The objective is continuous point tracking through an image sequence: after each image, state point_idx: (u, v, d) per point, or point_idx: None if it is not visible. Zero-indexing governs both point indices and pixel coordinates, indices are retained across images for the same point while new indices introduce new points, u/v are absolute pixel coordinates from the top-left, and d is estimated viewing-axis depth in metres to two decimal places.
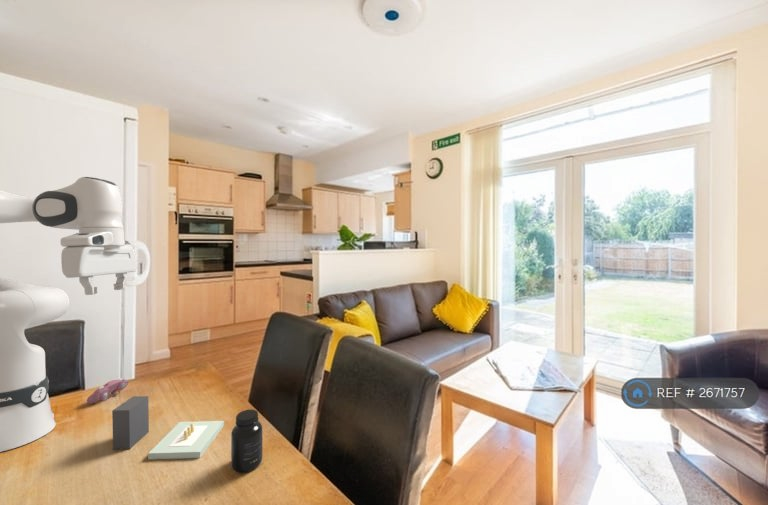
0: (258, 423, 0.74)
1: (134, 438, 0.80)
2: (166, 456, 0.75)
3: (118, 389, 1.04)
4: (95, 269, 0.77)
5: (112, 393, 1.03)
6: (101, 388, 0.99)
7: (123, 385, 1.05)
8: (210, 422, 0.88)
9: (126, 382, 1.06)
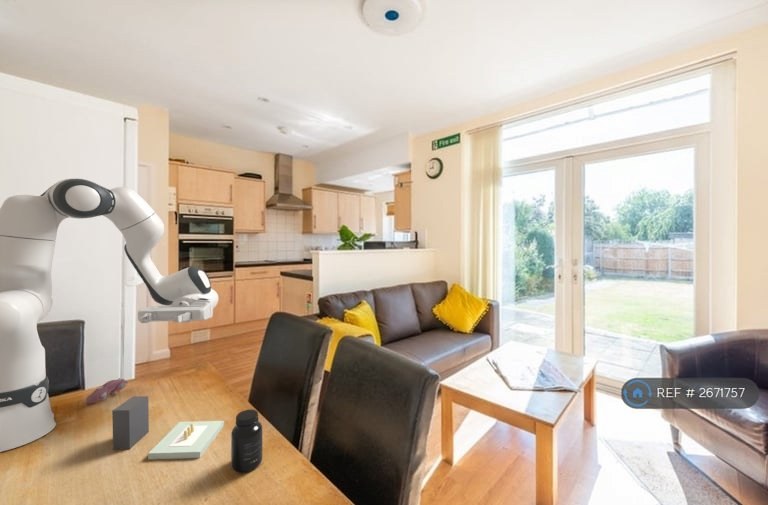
0: (258, 423, 0.74)
1: (134, 438, 0.80)
2: (166, 456, 0.75)
3: (117, 389, 1.04)
4: None
5: (111, 393, 1.03)
6: (100, 388, 0.99)
7: (122, 385, 1.05)
8: (210, 422, 0.88)
9: (125, 382, 1.06)
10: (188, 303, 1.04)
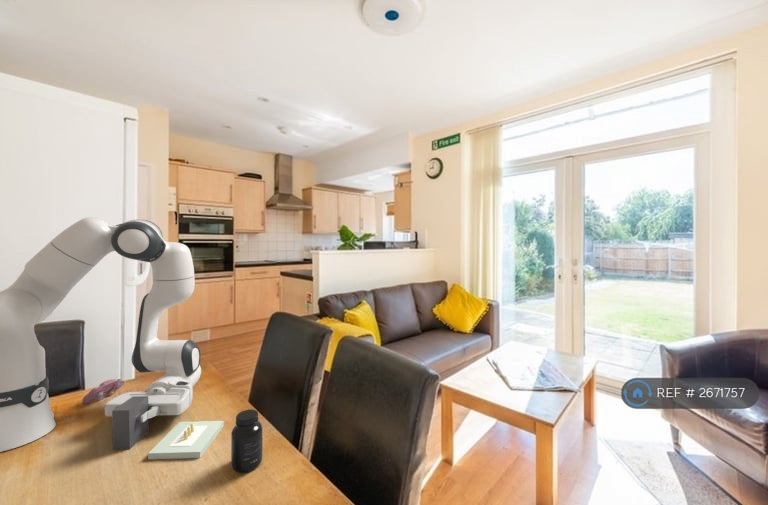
0: (258, 423, 0.74)
1: (134, 438, 0.80)
2: (166, 456, 0.75)
3: (114, 389, 1.04)
4: None
5: (108, 393, 1.04)
6: (97, 388, 1.00)
7: (119, 385, 1.05)
8: (210, 422, 0.88)
9: (122, 382, 1.06)
10: (164, 389, 0.92)
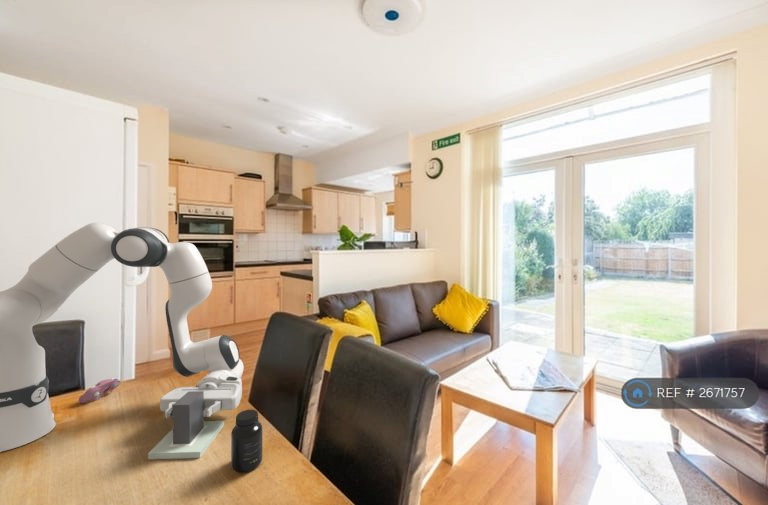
0: (258, 423, 0.74)
1: (193, 433, 0.80)
2: (166, 456, 0.75)
3: (110, 388, 1.05)
4: None
5: (104, 392, 1.04)
6: (93, 387, 1.00)
7: (115, 384, 1.06)
8: (210, 422, 0.88)
9: (118, 381, 1.06)
10: (215, 385, 0.92)
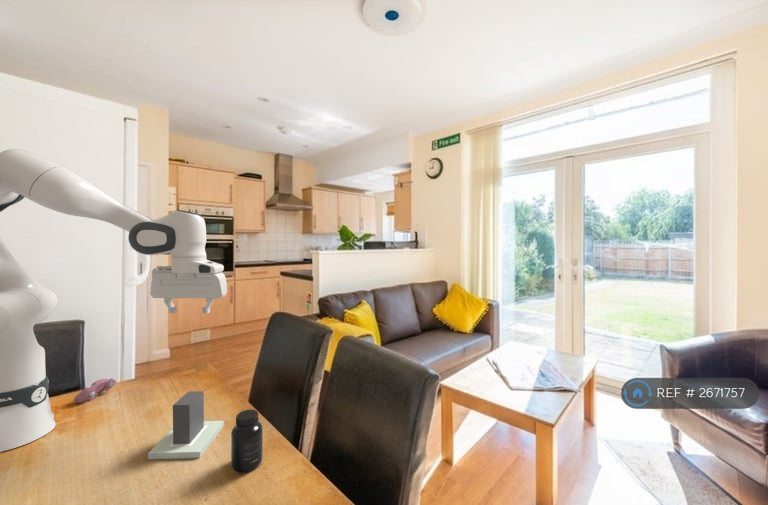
0: (258, 423, 0.74)
1: (193, 433, 0.80)
2: (166, 456, 0.75)
3: (106, 388, 1.05)
4: None
5: (99, 392, 1.04)
6: (88, 387, 1.00)
7: (111, 384, 1.06)
8: (210, 422, 0.88)
9: (114, 381, 1.07)
10: (192, 275, 0.90)
